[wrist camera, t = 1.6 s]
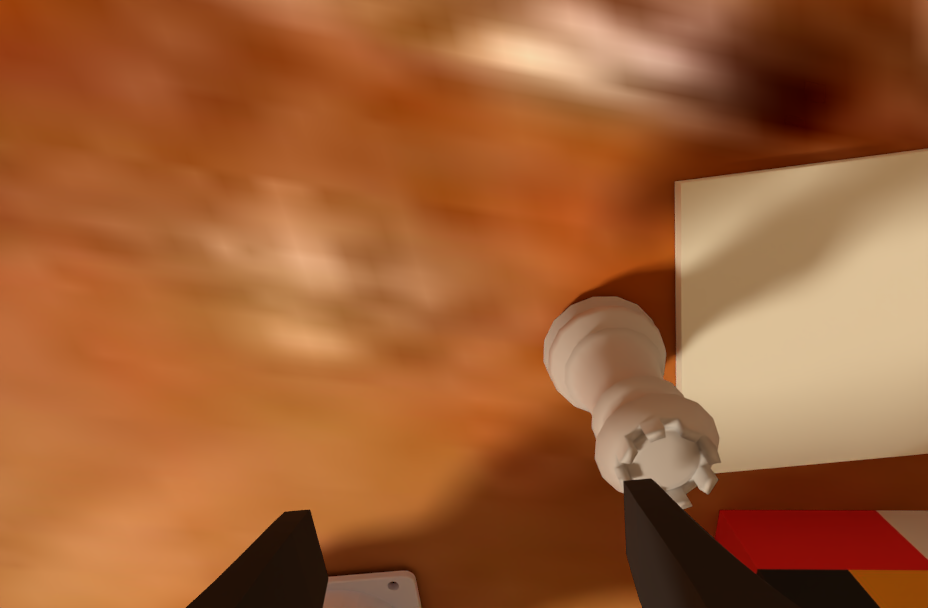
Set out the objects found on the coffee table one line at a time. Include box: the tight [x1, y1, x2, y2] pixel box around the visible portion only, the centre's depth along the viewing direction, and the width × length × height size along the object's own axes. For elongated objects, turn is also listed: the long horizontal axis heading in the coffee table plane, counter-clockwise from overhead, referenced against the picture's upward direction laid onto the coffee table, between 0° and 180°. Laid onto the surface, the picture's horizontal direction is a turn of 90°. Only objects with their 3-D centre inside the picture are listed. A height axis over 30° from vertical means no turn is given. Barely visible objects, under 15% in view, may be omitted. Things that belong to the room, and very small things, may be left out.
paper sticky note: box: [675, 149, 928, 473], centre depth 20 cm, size 11×12×1 cm
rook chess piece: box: [544, 296, 721, 509], centre depth 17 cm, size 4×4×8 cm
